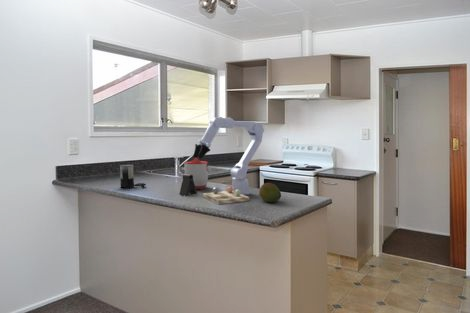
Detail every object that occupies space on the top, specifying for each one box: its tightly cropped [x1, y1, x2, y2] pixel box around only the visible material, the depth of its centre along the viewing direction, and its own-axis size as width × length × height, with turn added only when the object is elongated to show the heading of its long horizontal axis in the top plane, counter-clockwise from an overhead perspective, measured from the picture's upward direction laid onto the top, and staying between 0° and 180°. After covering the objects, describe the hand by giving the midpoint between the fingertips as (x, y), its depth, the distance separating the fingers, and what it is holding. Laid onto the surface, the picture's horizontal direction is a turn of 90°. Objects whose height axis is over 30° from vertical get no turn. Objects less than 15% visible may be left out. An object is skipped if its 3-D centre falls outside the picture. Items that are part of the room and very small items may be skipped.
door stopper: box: [178, 173, 198, 197], centre depth 220 cm, size 9×6×12 cm, turn 138°
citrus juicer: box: [183, 157, 212, 190], centre depth 239 cm, size 16×17×20 cm
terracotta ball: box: [226, 186, 233, 192], centre depth 213 cm, size 4×4×4 cm
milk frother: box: [119, 164, 147, 189], centre depth 246 cm, size 14×16×15 cm
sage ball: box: [235, 189, 241, 196], centre depth 204 cm, size 4×4×4 cm
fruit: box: [258, 182, 282, 203], centre depth 196 cm, size 12×13×10 cm
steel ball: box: [211, 187, 220, 194], centre depth 211 cm, size 4×4×4 cm
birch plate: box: [202, 190, 250, 205], centre depth 206 cm, size 18×22×2 cm
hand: (197, 157), depth 205 cm, fingers open, 7 cm apart
